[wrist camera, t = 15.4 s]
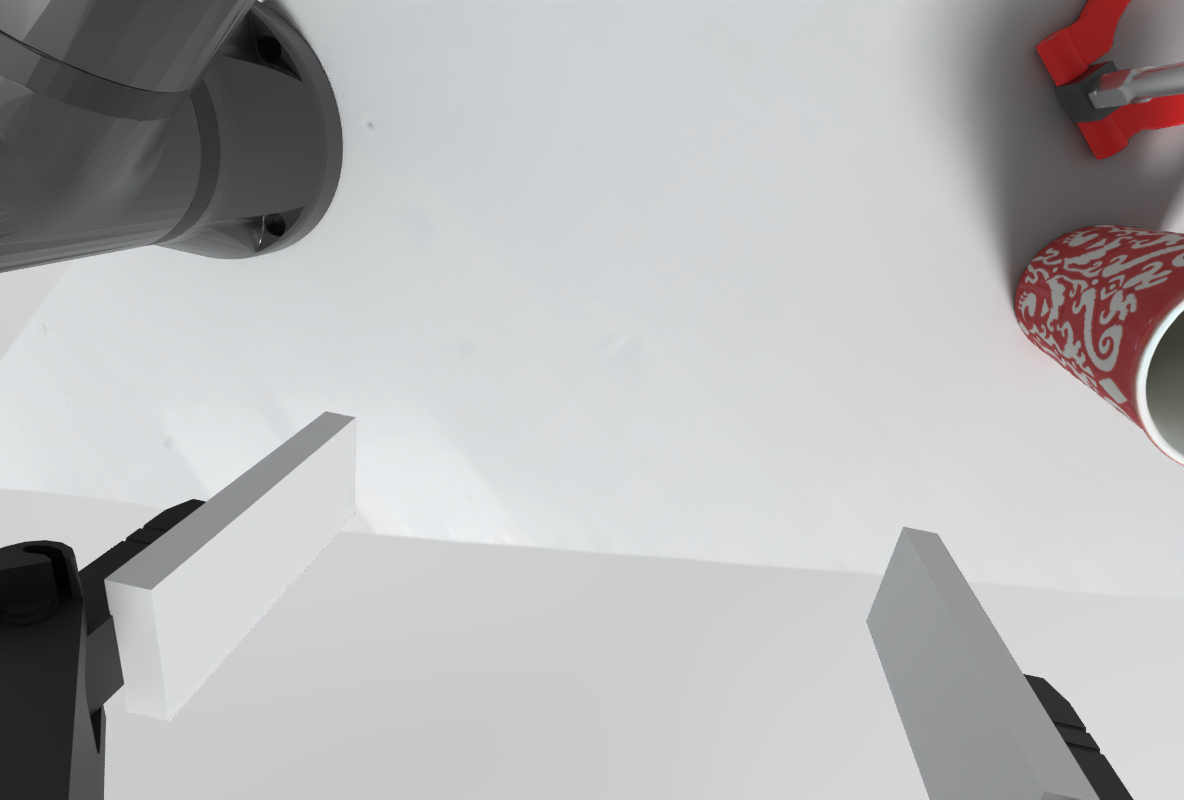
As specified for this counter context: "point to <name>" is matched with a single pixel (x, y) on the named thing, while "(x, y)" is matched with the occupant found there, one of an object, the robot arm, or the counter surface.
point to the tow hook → (1109, 82)
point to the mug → (1115, 321)
